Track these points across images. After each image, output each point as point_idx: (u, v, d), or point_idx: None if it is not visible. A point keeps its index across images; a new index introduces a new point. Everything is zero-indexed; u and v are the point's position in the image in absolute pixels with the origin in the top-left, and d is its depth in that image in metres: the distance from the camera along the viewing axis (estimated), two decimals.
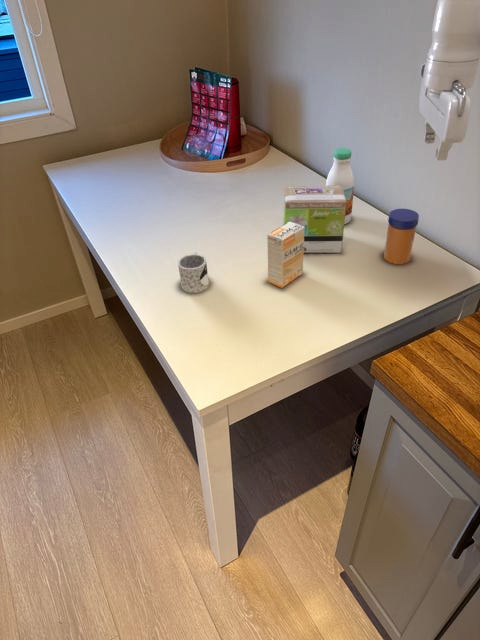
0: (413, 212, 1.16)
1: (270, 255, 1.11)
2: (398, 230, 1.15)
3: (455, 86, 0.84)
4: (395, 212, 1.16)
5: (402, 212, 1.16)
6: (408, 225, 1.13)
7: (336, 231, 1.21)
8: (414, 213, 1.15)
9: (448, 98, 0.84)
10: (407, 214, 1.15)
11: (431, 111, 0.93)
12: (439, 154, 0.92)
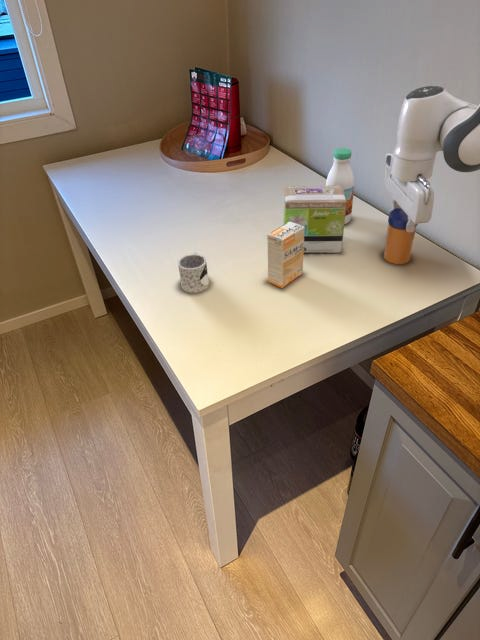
0: None
1: (270, 255, 1.11)
2: (398, 230, 1.15)
3: (420, 179, 1.03)
4: (395, 212, 1.16)
5: (402, 212, 1.16)
6: None
7: (336, 231, 1.21)
8: None
9: (416, 189, 1.03)
10: None
11: (398, 193, 1.12)
12: (408, 228, 1.12)
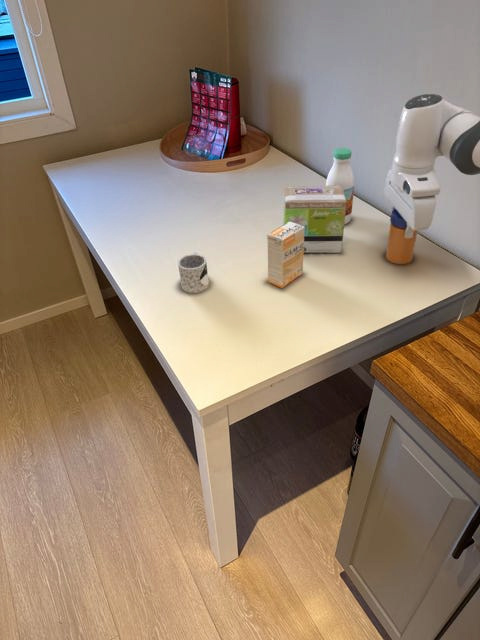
0: (396, 215, 1.14)
1: (270, 255, 1.11)
2: (400, 230, 1.15)
3: None
4: None
5: None
6: None
7: (336, 231, 1.21)
8: (395, 214, 1.15)
9: None
10: None
11: None
12: None
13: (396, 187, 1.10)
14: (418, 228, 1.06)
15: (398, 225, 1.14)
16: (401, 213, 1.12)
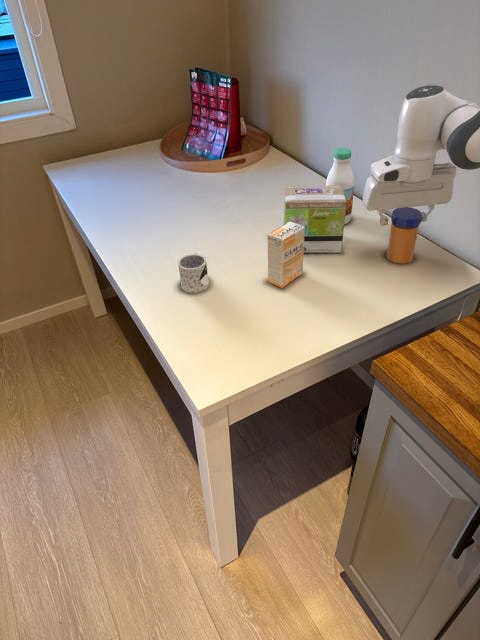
0: (397, 215, 1.14)
1: (270, 255, 1.11)
2: (401, 229, 1.15)
3: (439, 166, 1.08)
4: (415, 215, 1.14)
5: (408, 215, 1.14)
6: None
7: (336, 231, 1.21)
8: (396, 214, 1.15)
9: (446, 175, 1.08)
10: (404, 213, 1.15)
11: (407, 197, 1.10)
12: None
13: None
14: (363, 203, 1.13)
15: (399, 225, 1.14)
16: None
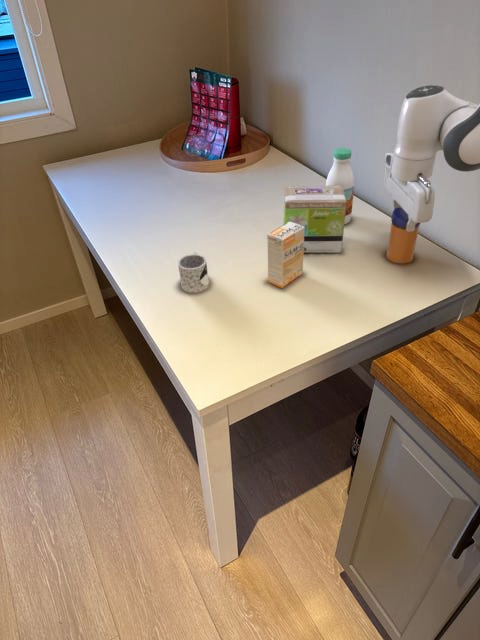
0: (396, 214, 1.15)
1: (270, 255, 1.11)
2: (401, 230, 1.15)
3: (420, 179, 1.03)
4: None
5: (407, 215, 1.14)
6: None
7: (336, 231, 1.21)
8: (396, 214, 1.15)
9: (416, 189, 1.03)
10: (404, 213, 1.15)
11: (398, 193, 1.12)
12: (408, 227, 1.12)
13: None
14: None
15: (398, 224, 1.14)
16: None
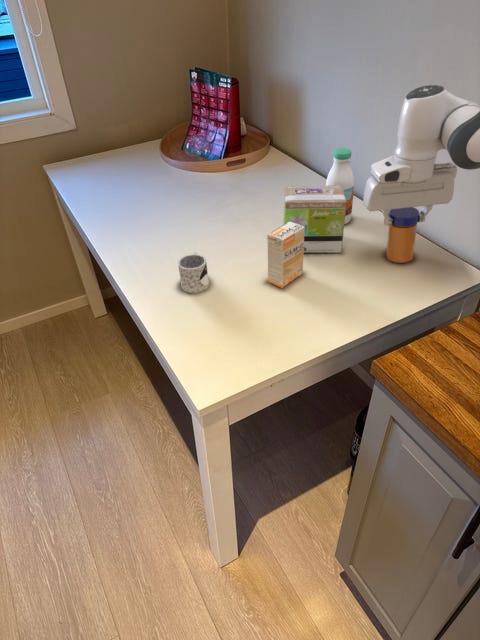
0: (409, 216, 1.13)
1: (270, 255, 1.11)
2: (399, 229, 1.15)
3: (440, 166, 1.08)
4: (409, 208, 1.16)
5: (409, 211, 1.15)
6: None
7: (336, 231, 1.21)
8: (407, 216, 1.13)
9: (447, 175, 1.08)
10: (404, 213, 1.15)
11: (408, 197, 1.10)
12: None
13: None
14: (364, 204, 1.13)
15: (415, 222, 1.14)
16: None
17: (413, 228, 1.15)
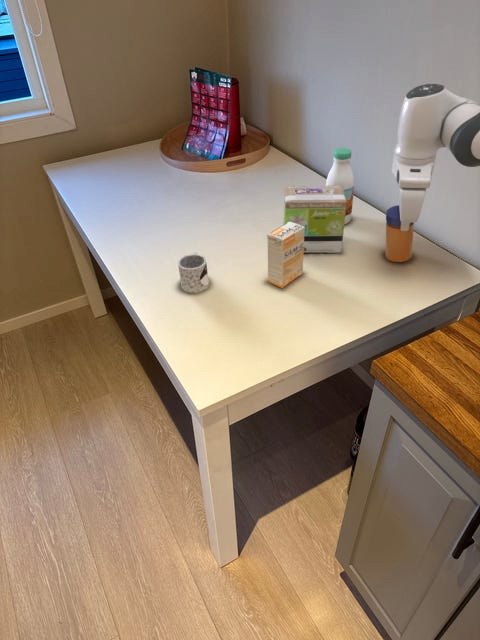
0: None
1: (270, 255, 1.11)
2: (397, 229, 1.15)
3: None
4: (395, 208, 1.16)
5: None
6: (399, 222, 1.13)
7: (336, 231, 1.21)
8: None
9: None
10: None
11: None
12: None
13: None
14: (405, 220, 1.05)
15: None
16: (399, 204, 1.11)
17: (411, 227, 1.15)
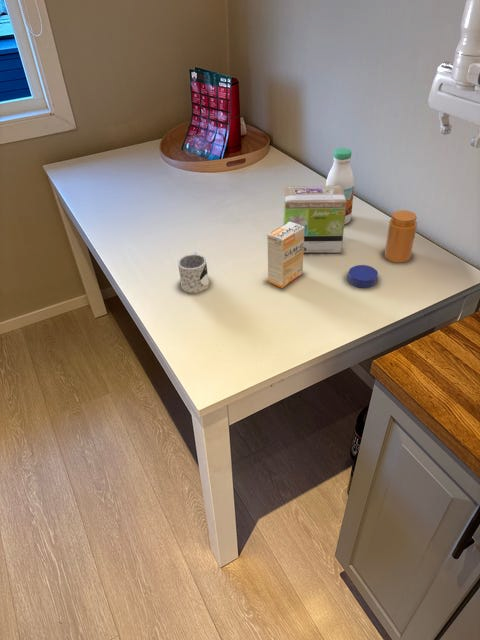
0: (373, 270, 1.15)
1: (270, 255, 1.11)
2: (401, 229, 1.15)
3: None
4: (355, 269, 1.16)
5: (362, 269, 1.15)
6: (365, 284, 1.12)
7: (336, 231, 1.21)
8: (374, 272, 1.14)
9: None
10: (366, 272, 1.14)
11: None
12: None
13: (461, 86, 0.95)
14: None
15: None
16: (466, 117, 0.98)
17: (414, 228, 1.16)
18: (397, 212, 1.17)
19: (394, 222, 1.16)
